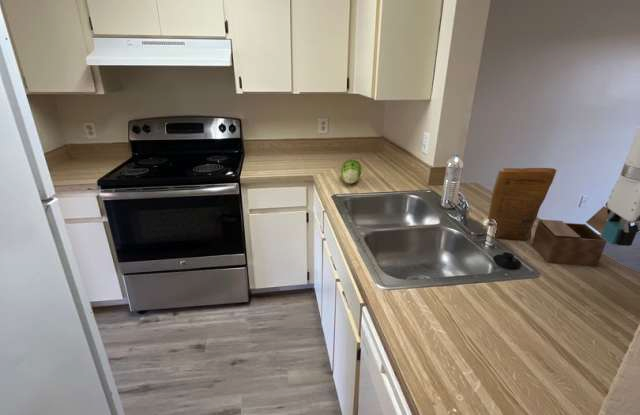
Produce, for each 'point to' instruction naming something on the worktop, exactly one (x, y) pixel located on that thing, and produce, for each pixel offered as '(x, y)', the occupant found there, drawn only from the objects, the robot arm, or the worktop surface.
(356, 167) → the lettuce
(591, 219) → the flap
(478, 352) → the worktop surface
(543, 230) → the carton
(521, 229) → the wooden cutting board
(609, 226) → the block
